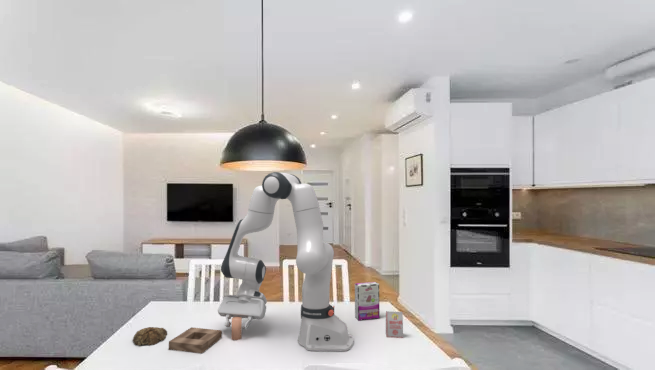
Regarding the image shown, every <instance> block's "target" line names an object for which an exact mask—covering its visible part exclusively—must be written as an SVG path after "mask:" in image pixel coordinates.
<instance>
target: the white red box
mask: <svg viewBox="0 0 655 370" xmlns="http://www.w3.org/2000/svg"><path fill="white" fill-rule="evenodd" d="M403 315H404V314H403V311H390V310H389V311H387V310H386V311H385V338H396V339H397V338H399V339H404V320H403V319H404V318H403Z"/></svg>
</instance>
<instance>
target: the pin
mask: <svg viewBox="0 0 655 370" xmlns="http://www.w3.org/2000/svg"><path fill="white" fill-rule="evenodd" d="M242 319H243V318H242V317H231V333H230V335H231V340H232V341H240V340H241V339H242V334H243V333H242V330H243V323H242V321H243V320H242Z"/></svg>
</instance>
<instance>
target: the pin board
mask: <svg viewBox="0 0 655 370" xmlns="http://www.w3.org/2000/svg"><path fill="white" fill-rule="evenodd" d="M222 338H223V330H222V329H210V328H201V327H192V326H191V327H189V328H188V329H186V330H184V331H183V332H182V333H180V334H179V335H177V336H176V337H173V338H172V339H170V340H169V341H168V351H178V352H186V353H195V354H203V353H204V352H206V351H208V349H210V348H212V346H213V345H214V344H216V343H217V342H219V341H220V340H221V339H222Z"/></svg>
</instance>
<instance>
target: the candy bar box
mask: <svg viewBox="0 0 655 370" xmlns="http://www.w3.org/2000/svg"><path fill="white" fill-rule="evenodd" d="M380 312H381V310H380V283H378V282H376V281H370V282H369V281H368V282H360V283H359V282H358V283H354V318H355V319H356V320H357V321H358V322H359V321H360V322H361V321H369V320H375V319H376V320H377V319H380Z"/></svg>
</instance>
